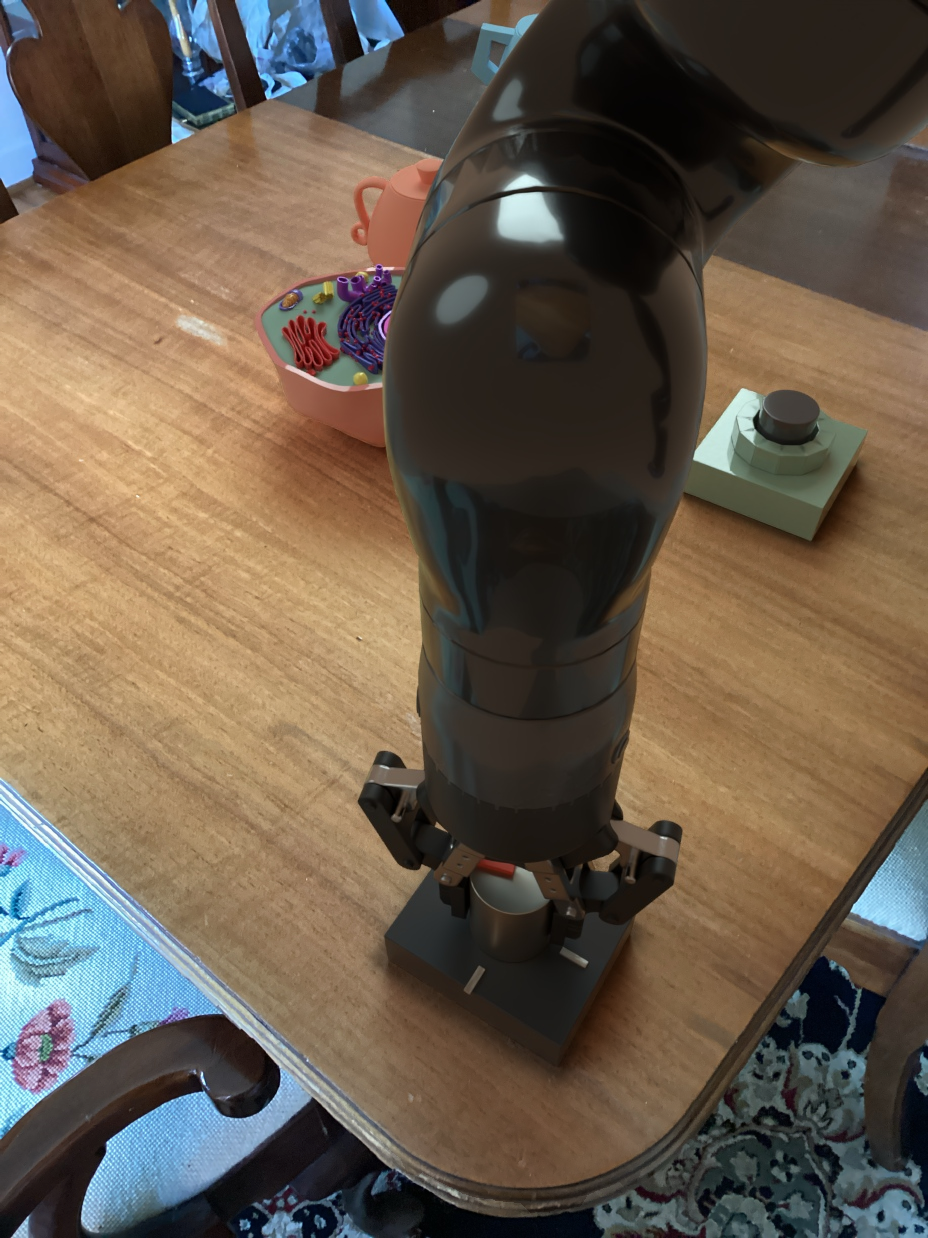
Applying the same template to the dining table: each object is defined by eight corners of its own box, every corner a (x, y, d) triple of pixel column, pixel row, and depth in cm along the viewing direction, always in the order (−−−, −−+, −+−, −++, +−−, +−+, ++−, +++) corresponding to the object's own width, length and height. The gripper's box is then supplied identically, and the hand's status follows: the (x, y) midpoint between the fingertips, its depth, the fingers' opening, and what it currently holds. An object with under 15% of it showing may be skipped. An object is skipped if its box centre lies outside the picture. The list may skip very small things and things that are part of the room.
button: (820, 423, 72) (828, 400, 71) (801, 453, 70) (808, 430, 69) (768, 405, 74) (774, 382, 72) (747, 434, 72) (753, 411, 70)
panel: (632, 929, 52) (640, 903, 50) (554, 1072, 48) (559, 1050, 45) (471, 838, 56) (471, 810, 54) (385, 962, 51) (380, 937, 49)
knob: (562, 895, 50) (571, 839, 46) (542, 973, 48) (549, 922, 43) (483, 872, 51) (484, 816, 47) (458, 948, 49) (457, 896, 44)
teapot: (464, 150, 112) (463, 34, 103) (477, 89, 122) (477, -20, 113) (643, 157, 110) (659, 40, 101) (641, 95, 121) (654, -16, 112)
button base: (856, 463, 77) (875, 410, 73) (811, 541, 71) (830, 489, 67) (733, 420, 80) (746, 367, 76) (682, 491, 75) (693, 438, 71)
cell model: (328, 332, 89) (312, 210, 80) (540, 383, 83) (548, 258, 75) (228, 446, 78) (198, 320, 70) (463, 512, 73) (461, 384, 65)
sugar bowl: (484, 311, 91) (485, 202, 83) (336, 295, 92) (323, 187, 85) (507, 243, 98) (510, 138, 91) (370, 230, 100) (362, 125, 93)
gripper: (736, 676, 37) (668, 883, 50) (373, 596, 39) (398, 812, 53) (710, 855, 32) (642, 1031, 45) (300, 751, 35) (348, 945, 48)
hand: (511, 912), depth 49 cm, fingers closed on knob, 4 cm apart
